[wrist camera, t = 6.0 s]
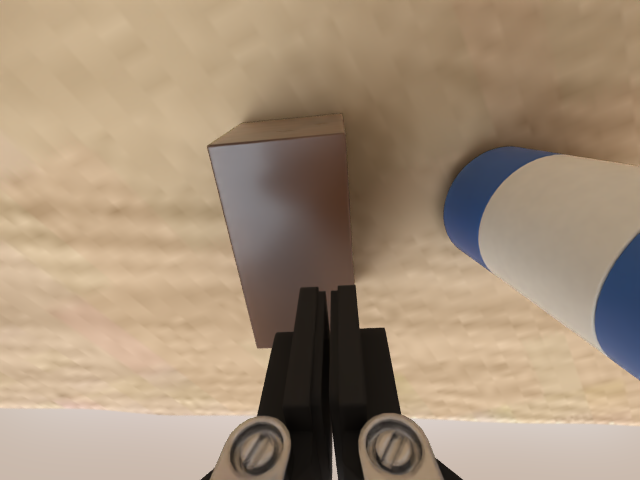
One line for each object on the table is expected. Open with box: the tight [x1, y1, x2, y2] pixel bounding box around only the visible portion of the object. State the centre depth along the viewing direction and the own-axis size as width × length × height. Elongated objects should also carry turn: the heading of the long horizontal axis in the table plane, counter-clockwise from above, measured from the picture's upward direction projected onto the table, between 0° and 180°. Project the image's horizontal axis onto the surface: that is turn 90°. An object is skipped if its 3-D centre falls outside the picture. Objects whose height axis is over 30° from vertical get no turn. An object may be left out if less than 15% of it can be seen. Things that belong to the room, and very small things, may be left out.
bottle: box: [444, 146, 640, 380], centre depth 12 cm, size 12×6×13 cm
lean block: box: [207, 113, 354, 348], centre depth 16 cm, size 5×10×5 cm, turn 6°
